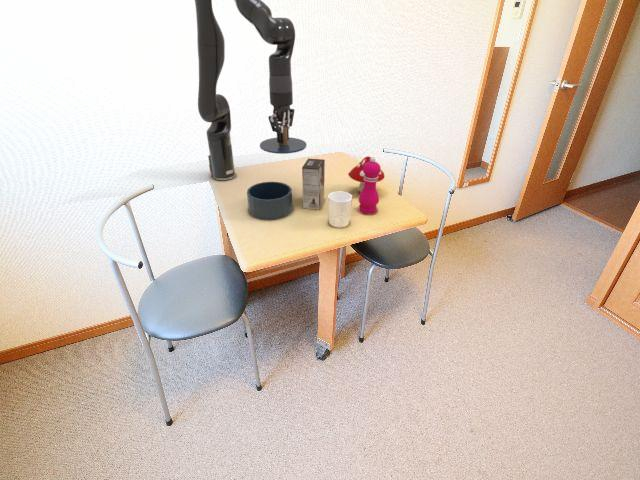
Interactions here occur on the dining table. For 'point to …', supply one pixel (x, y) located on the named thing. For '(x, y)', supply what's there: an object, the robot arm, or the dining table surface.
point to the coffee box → (313, 183)
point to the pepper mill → (369, 188)
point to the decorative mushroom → (362, 173)
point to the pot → (269, 200)
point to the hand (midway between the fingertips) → (283, 141)
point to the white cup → (339, 208)
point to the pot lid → (283, 144)
